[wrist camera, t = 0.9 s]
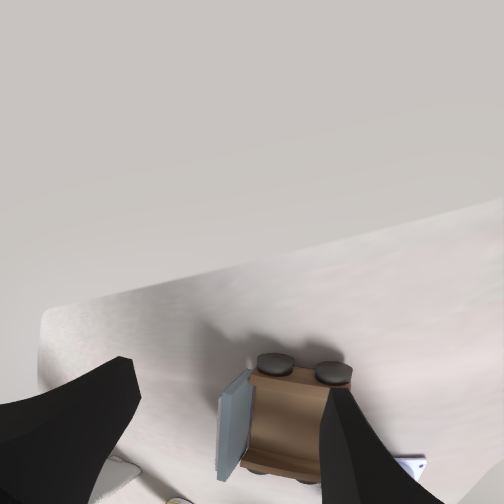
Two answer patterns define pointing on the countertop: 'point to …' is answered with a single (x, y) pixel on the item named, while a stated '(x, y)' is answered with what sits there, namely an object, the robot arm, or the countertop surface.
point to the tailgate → (233, 425)
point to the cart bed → (290, 416)
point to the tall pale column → (113, 478)
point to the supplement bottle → (177, 501)
